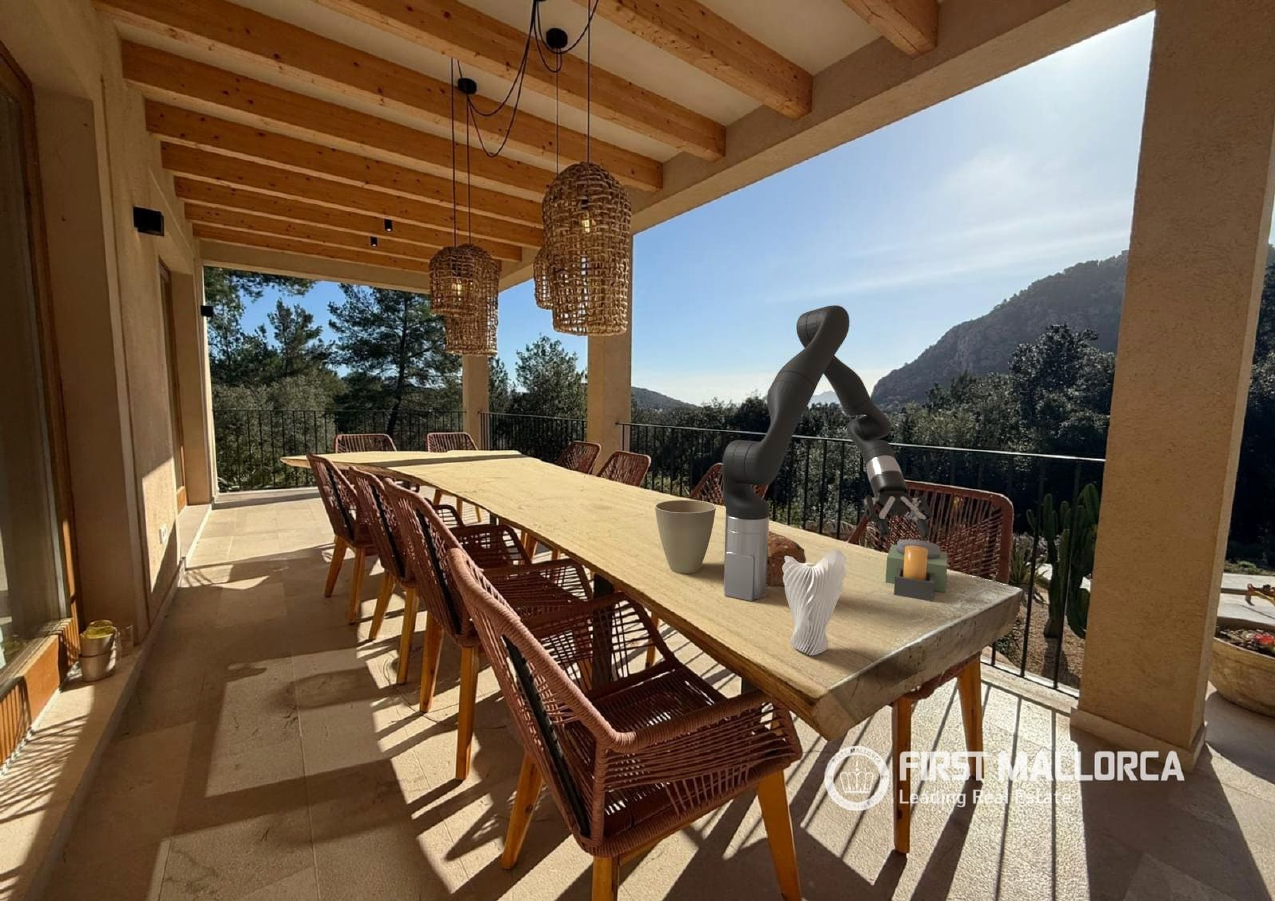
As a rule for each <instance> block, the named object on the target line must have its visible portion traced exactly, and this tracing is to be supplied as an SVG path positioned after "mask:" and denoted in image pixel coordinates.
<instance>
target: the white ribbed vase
mask: <svg viewBox="0 0 1275 901" xmlns="http://www.w3.org/2000/svg"><path fill="white" fill-rule="evenodd" d="M784 559H785V561H786V563H785V564H784V565H783V567H782V570H783V572H784V576H783V582H784V585H783V586H784V592H785V597H786V601H787V604H788V607H789V610H790V613H791V616H792V621H793V626H794V630H793V634H792V635H791V637H790V640H789V642H790V644H791V646H793V648H794V649H796V650H798V651H800V652H801V653H804V654H806V655H809V656H816V655H818V654H821V653H823V652H825V651H827V649H828V648H829V640H828V637H827V633H826V629H827V626H828V624H829V623H830V620H831V618H832V616H833V615H834V614H833V613H834V611H835V609H836V605H837V603H838V601H839V598H840V597H841V594H842V592H843V584H844V583H843V582H844V580H845V578H846V575H847V570H846V568H845V564H846V562H847V558H846V555H845V554H844V553H843V552H842V551H840V550H838V549H835V548H833V549H829V550H828V551H827V552H826V553H825V554H824V555H823V556H822V558H820V560H819V561H818V562H817V563H813V562H805V563H799V562H797V561H796V560H795V559H794V558H793V557H789V556H785V558H784Z"/></svg>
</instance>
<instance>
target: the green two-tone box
mask: <svg viewBox="0 0 1275 901" xmlns="http://www.w3.org/2000/svg"><path fill="white" fill-rule="evenodd" d="M908 545H914V546H921V547H924V548H927V549H928V553H927V568H926V581H924V580H918V579H912V578H906V577H903V570H904V554H905V546H908ZM887 553H888V554H887V557H886V569H885V570H886V571H885V583H889V584H893V585H894V586H893V587H894V589H893V595H894V596H900V597H904V598H905V597H906V598H910V599H917V600H921V601H927V602H932V601H933V602H934V592H939V593H946V587H947V575H948V552H947V551H941V546H940V545H939V544H937V543H934V542H930V541H926V540H918V539H900V540H897V542H896V544H891V545H890V548H889V551H888V552H887Z"/></svg>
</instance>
